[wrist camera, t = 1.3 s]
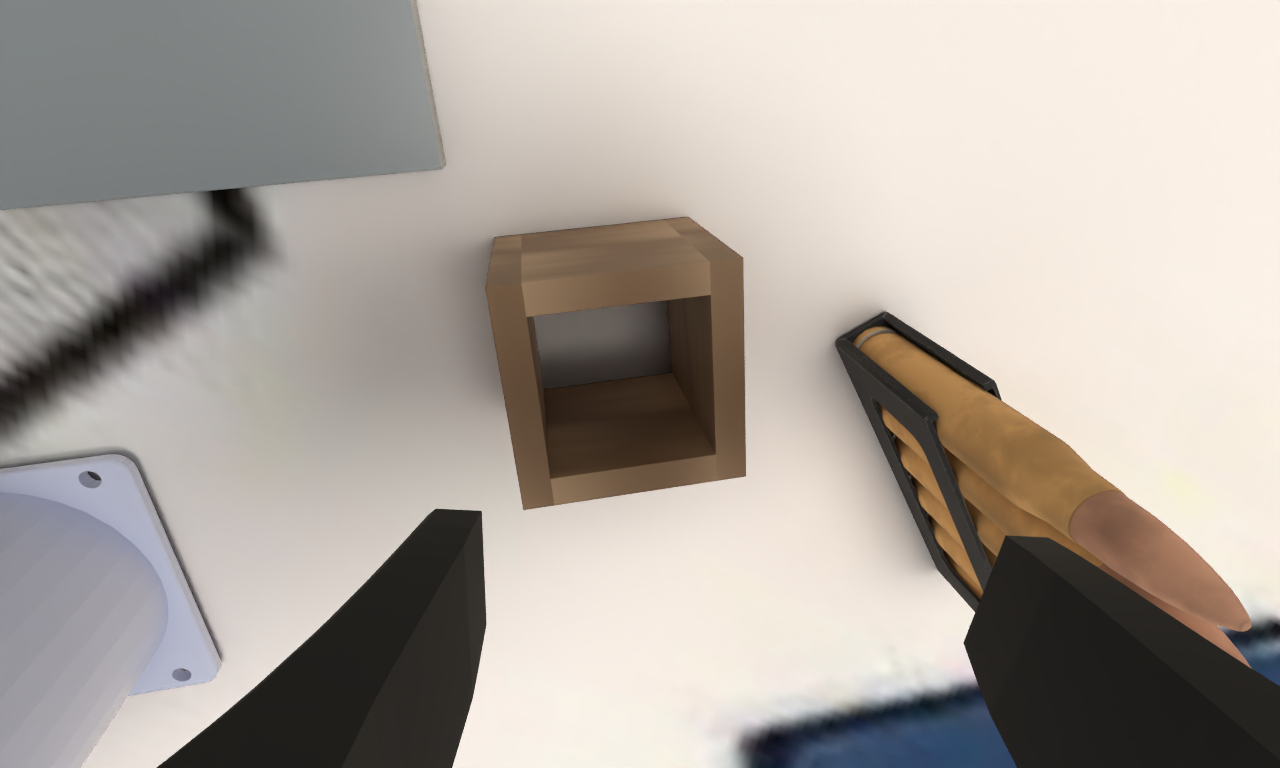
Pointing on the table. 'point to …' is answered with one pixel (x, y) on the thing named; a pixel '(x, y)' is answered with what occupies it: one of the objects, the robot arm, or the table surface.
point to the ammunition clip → (1013, 482)
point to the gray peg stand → (208, 96)
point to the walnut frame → (629, 408)
